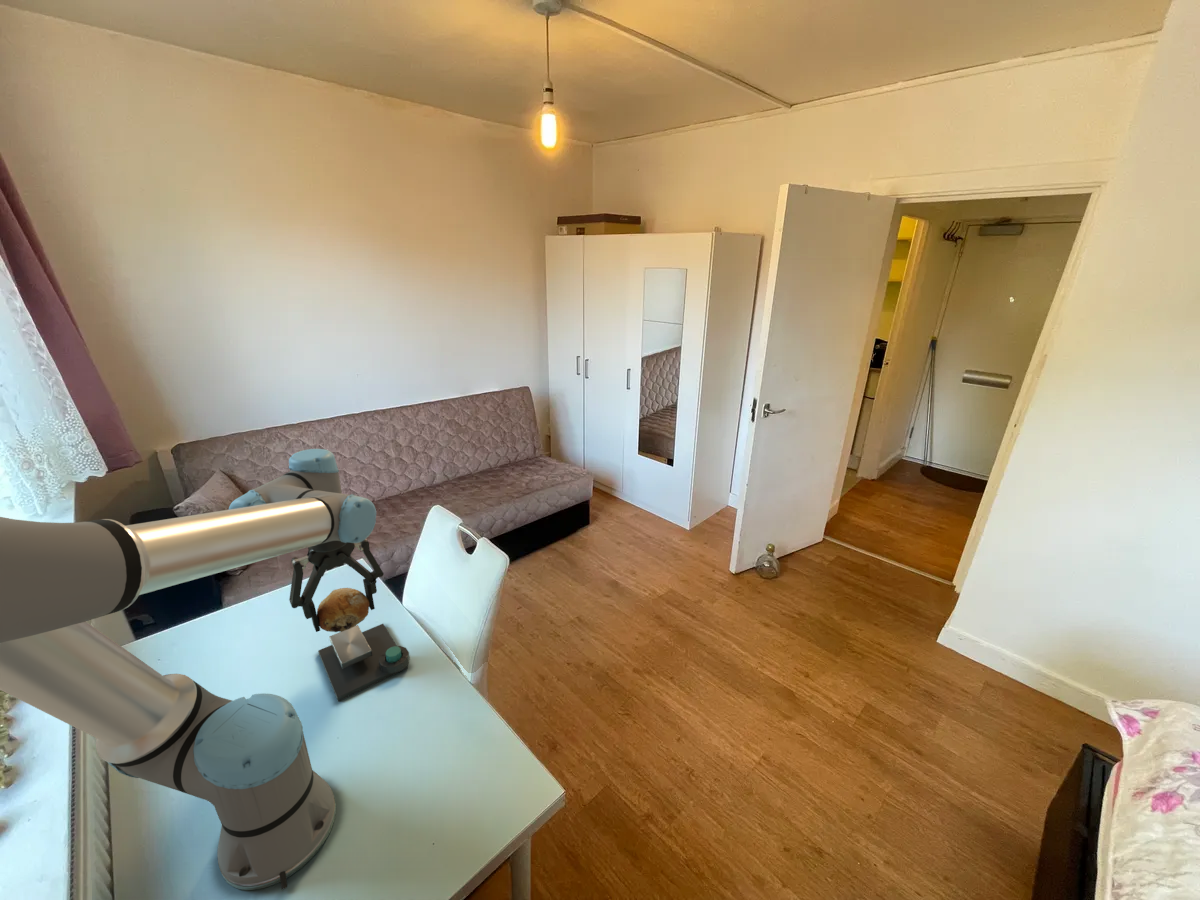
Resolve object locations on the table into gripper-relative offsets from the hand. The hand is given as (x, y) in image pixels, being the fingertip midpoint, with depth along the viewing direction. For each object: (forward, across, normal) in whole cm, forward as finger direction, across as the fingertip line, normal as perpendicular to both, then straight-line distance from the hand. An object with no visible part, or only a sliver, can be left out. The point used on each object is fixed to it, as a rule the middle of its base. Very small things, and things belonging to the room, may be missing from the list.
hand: (344, 616), depth 104 cm
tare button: (+9, -6, +8) cm, 14 cm away
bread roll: (0, 0, 0) cm, 0 cm away
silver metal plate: (+9, 0, 0) cm, 9 cm away
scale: (+12, -1, +2) cm, 12 cm away
